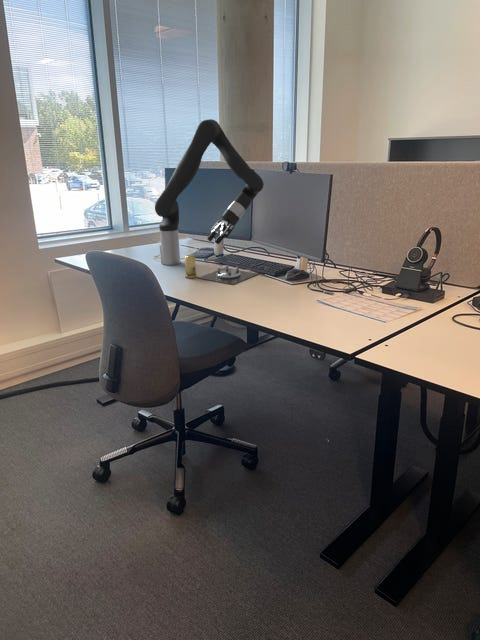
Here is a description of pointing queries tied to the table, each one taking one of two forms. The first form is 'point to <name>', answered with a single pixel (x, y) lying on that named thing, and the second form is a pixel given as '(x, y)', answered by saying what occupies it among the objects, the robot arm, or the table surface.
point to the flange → (228, 276)
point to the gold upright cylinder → (190, 266)
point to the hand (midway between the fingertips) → (212, 241)
